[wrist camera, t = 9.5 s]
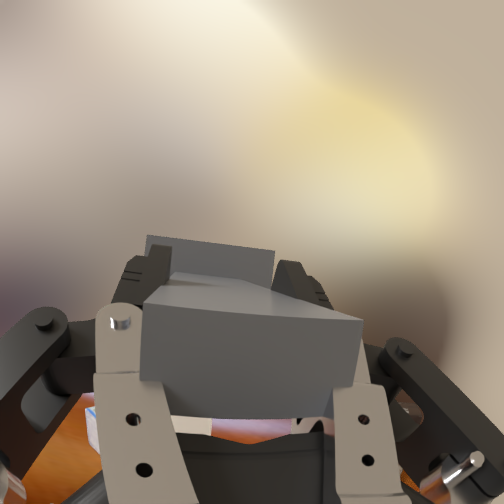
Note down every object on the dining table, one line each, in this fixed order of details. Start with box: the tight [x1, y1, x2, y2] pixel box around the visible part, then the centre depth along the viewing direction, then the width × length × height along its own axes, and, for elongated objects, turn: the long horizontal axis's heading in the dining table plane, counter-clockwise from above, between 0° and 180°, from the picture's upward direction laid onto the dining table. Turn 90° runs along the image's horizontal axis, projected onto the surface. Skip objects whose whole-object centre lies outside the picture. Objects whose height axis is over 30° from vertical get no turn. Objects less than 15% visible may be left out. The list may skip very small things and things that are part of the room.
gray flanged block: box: [139, 235, 364, 419], centre depth 16 cm, size 8×22×4 cm, turn 12°
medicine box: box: [85, 406, 100, 454], centre depth 44 cm, size 8×4×9 cm, turn 55°
